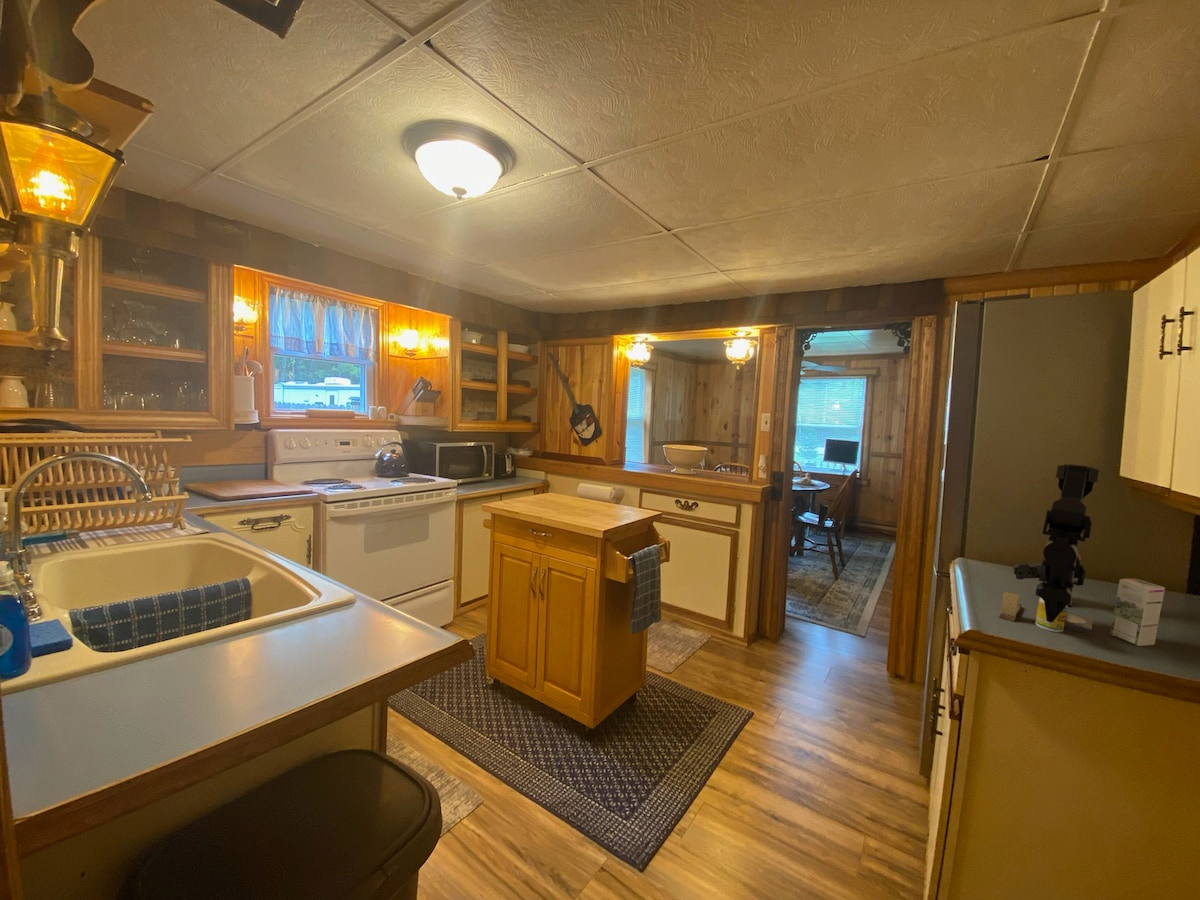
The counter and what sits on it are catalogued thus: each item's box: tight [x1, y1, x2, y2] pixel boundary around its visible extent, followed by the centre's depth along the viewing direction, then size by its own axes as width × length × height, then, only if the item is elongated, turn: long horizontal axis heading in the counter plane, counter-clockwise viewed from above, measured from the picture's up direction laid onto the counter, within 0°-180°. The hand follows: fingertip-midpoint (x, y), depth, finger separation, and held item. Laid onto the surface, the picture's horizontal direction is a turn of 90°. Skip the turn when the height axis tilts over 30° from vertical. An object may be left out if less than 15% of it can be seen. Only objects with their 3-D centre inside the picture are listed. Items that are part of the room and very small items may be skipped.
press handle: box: [1000, 591, 1021, 617], centre depth 131 cm, size 3×3×5 cm
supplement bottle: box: [1035, 596, 1068, 633], centre depth 126 cm, size 5×5×10 cm
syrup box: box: [1109, 577, 1166, 647], centre depth 122 cm, size 6×6×14 cm
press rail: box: [999, 602, 1022, 623], centre depth 135 cm, size 14×3×1 cm, turn 135°
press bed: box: [1064, 612, 1093, 636], centre depth 130 cm, size 9×9×2 cm
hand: (1050, 618), depth 127 cm, fingers closed on supplement bottle, 5 cm apart
